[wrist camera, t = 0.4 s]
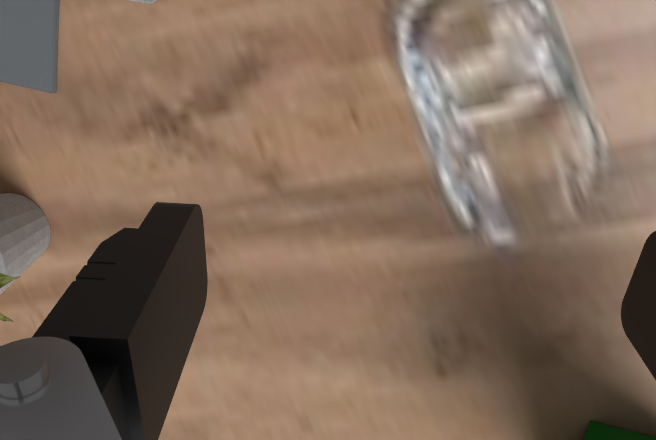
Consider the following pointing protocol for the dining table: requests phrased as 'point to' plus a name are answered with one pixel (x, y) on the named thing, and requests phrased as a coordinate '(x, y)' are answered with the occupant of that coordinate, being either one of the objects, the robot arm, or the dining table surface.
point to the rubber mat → (29, 43)
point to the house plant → (20, 237)
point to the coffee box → (145, 1)
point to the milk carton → (612, 433)
